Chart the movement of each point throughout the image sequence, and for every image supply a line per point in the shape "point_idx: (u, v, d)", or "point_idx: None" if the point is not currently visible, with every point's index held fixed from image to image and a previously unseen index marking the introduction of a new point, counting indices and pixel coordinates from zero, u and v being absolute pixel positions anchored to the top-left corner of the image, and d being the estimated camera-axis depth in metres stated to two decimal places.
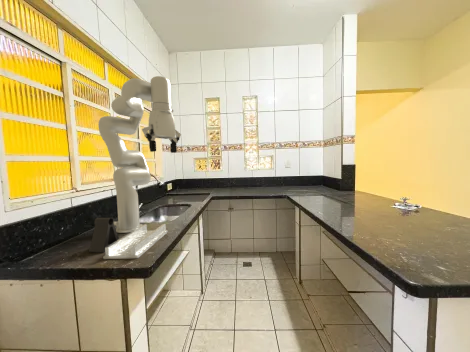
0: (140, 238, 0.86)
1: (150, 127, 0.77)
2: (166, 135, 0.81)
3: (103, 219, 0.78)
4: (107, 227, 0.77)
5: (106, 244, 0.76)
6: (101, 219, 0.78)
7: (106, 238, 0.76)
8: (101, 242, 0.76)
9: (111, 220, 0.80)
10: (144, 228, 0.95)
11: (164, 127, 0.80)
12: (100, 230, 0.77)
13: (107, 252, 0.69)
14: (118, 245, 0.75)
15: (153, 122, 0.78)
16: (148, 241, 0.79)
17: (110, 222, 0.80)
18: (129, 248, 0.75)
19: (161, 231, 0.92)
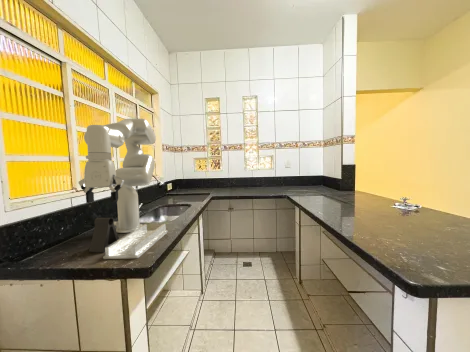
0: (140, 238, 0.86)
1: None
2: None
3: (103, 219, 0.78)
4: (107, 227, 0.77)
5: (106, 244, 0.76)
6: (101, 219, 0.78)
7: (106, 238, 0.76)
8: (101, 242, 0.76)
9: (111, 220, 0.80)
10: (144, 228, 0.95)
11: None
12: (100, 230, 0.77)
13: (107, 252, 0.69)
14: (118, 245, 0.75)
15: (115, 173, 0.79)
16: (148, 241, 0.79)
17: (110, 222, 0.80)
18: (129, 248, 0.75)
19: (161, 231, 0.92)
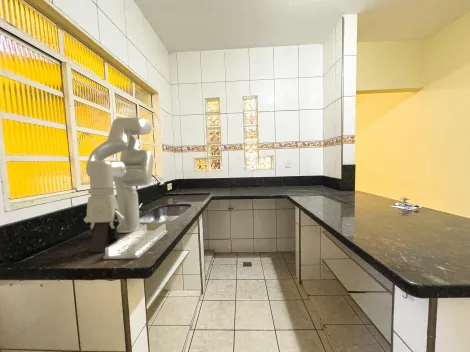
0: (140, 238, 0.86)
1: None
2: None
3: None
4: (107, 227, 0.77)
5: (106, 244, 0.76)
6: None
7: (106, 238, 0.76)
8: (101, 242, 0.76)
9: None
10: (144, 228, 0.95)
11: None
12: (100, 230, 0.77)
13: (107, 252, 0.69)
14: (118, 245, 0.75)
15: (117, 206, 0.80)
16: (148, 241, 0.79)
17: None
18: (129, 248, 0.75)
19: (161, 231, 0.92)
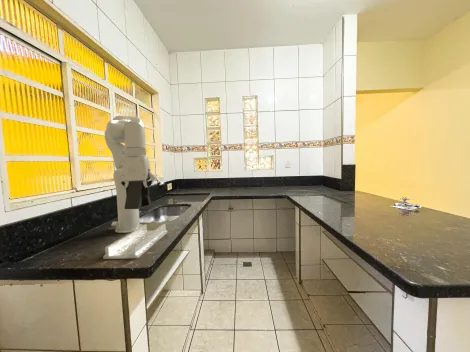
0: (140, 238, 0.86)
1: None
2: None
3: None
4: (141, 186, 0.80)
5: (140, 201, 0.79)
6: None
7: (140, 196, 0.79)
8: (135, 199, 0.79)
9: None
10: (144, 228, 0.95)
11: None
12: (134, 189, 0.80)
13: (107, 252, 0.69)
14: (118, 245, 0.75)
15: None
16: (148, 241, 0.79)
17: (142, 182, 0.83)
18: (129, 248, 0.75)
19: (161, 231, 0.92)
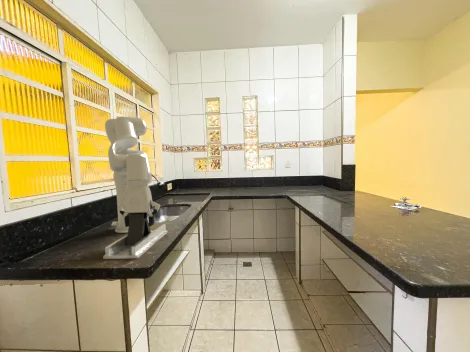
0: None
1: None
2: None
3: (138, 213, 0.82)
4: (143, 221, 0.81)
5: (143, 236, 0.80)
6: (136, 213, 0.82)
7: (142, 231, 0.80)
8: (138, 235, 0.80)
9: (145, 214, 0.84)
10: None
11: None
12: (135, 224, 0.81)
13: (107, 252, 0.69)
14: (118, 245, 0.75)
15: (151, 198, 0.84)
16: (148, 241, 0.79)
17: (144, 216, 0.84)
18: (129, 248, 0.75)
19: (161, 231, 0.92)
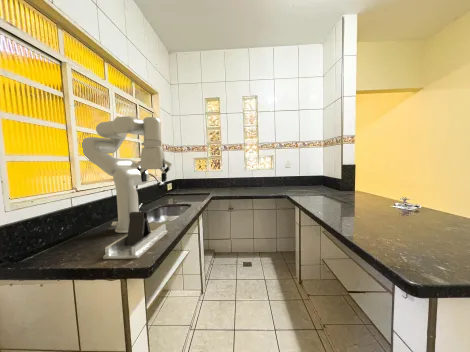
0: None
1: None
2: None
3: (138, 213, 0.82)
4: (142, 221, 0.81)
5: (143, 236, 0.80)
6: (136, 213, 0.82)
7: (142, 231, 0.80)
8: (138, 235, 0.80)
9: (145, 214, 0.84)
10: None
11: None
12: (135, 224, 0.81)
13: (107, 252, 0.69)
14: (118, 245, 0.75)
15: (164, 158, 0.95)
16: (148, 241, 0.79)
17: (144, 216, 0.84)
18: (129, 248, 0.75)
19: (161, 231, 0.92)
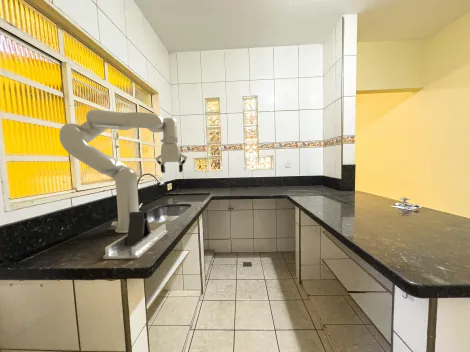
0: None
1: None
2: None
3: (138, 213, 0.82)
4: (143, 221, 0.81)
5: (143, 236, 0.80)
6: (136, 213, 0.82)
7: (142, 231, 0.80)
8: (138, 235, 0.80)
9: (145, 214, 0.84)
10: None
11: None
12: (136, 224, 0.81)
13: (107, 252, 0.69)
14: (118, 245, 0.75)
15: (180, 152, 1.13)
16: (148, 241, 0.79)
17: (144, 216, 0.84)
18: (129, 248, 0.75)
19: (161, 231, 0.92)
